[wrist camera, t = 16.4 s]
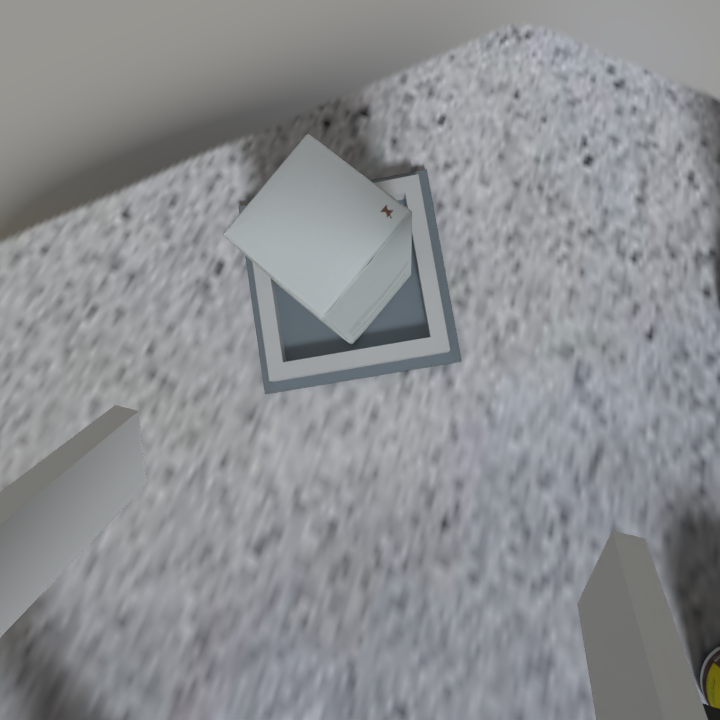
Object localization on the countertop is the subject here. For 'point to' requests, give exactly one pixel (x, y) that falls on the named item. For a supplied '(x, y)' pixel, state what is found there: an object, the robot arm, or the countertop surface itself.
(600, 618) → the robot arm
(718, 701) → the supplement bottle
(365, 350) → the slate base tray
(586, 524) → the countertop surface
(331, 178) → the supplement box
